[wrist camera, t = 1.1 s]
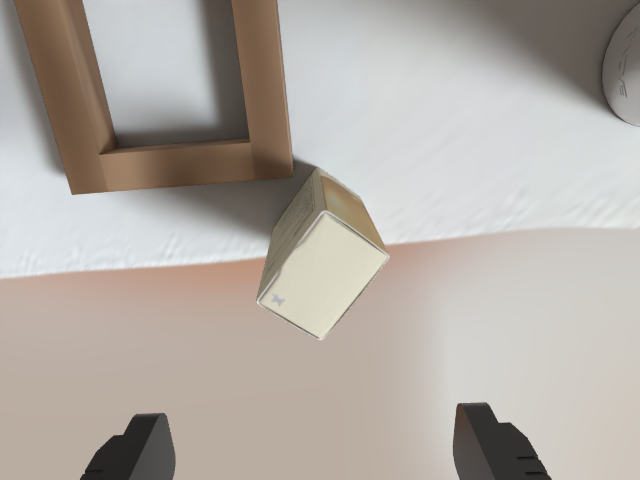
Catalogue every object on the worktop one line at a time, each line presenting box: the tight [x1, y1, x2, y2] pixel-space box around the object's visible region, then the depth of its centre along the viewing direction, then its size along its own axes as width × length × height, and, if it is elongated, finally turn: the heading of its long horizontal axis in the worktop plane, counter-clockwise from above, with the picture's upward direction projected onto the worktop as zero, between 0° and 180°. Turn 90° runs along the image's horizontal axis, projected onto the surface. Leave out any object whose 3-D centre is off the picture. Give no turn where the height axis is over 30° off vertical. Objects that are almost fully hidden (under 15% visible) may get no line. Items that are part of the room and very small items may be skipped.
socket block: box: [14, 0, 294, 195], centre depth 27 cm, size 15×15×3 cm
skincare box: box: [256, 168, 390, 340], centre depth 26 cm, size 6×4×12 cm
